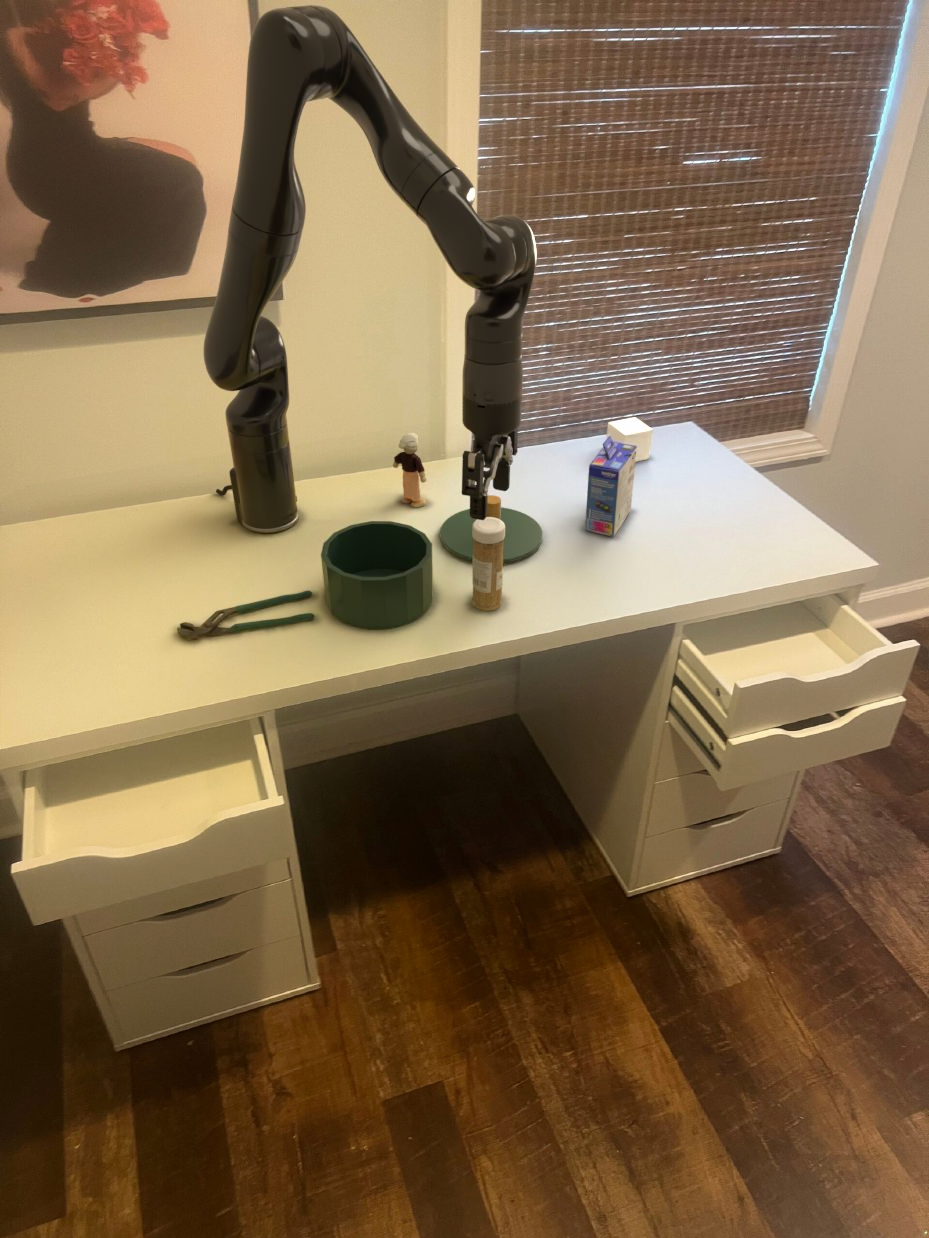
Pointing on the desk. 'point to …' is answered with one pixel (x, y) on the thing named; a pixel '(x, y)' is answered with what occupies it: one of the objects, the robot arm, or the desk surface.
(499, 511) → the tin lid
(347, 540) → the tin
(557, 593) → the desk surface
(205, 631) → the pliers
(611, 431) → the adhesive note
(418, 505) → the grandmother figurine
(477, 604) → the sprinkles bottle
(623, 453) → the ink cartridge box
